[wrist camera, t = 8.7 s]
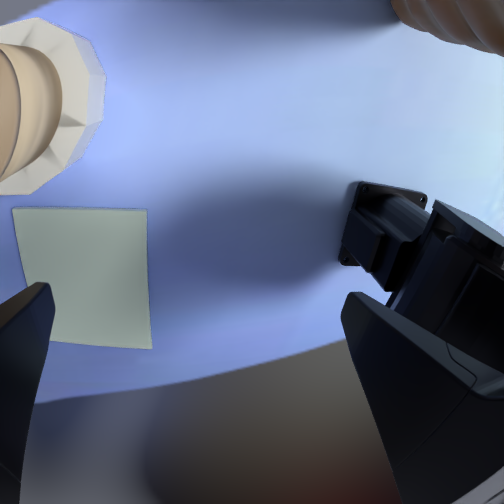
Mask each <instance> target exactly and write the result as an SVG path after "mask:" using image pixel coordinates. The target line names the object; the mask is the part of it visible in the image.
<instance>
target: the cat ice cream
mask: <svg viewBox="0 0 504 504" xmlns="http://www.w3.org/2000/svg"><path fill="white" fill-rule="evenodd" d="M390 2H391V5H392V7H393V9H394V11H395V13H396V15H397V16H398V18H399V19H400V20H401V21H402V22H403V23H404V24H406V25H408V26H409V27H412V28H414V29H416V30H419V31H423V32H429V33H430V34H432V35H434V36H435V37H437V38H439V39H440V40H443V41H446V42H450V43H454V44H461V45H467V46H469V47H472V48H474V49H477V50H480V51H483V52H488V53H494V54H498V55H500V56H502V57H504V0H390Z"/></svg>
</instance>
